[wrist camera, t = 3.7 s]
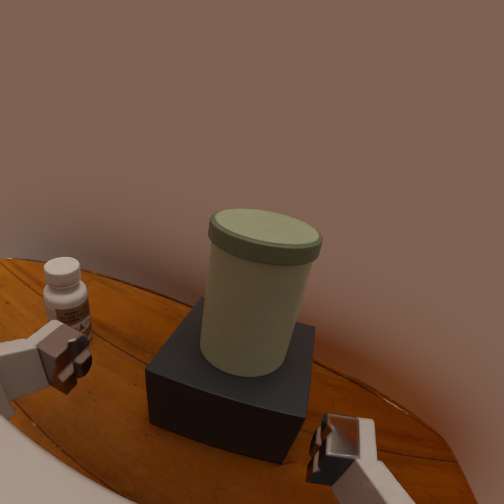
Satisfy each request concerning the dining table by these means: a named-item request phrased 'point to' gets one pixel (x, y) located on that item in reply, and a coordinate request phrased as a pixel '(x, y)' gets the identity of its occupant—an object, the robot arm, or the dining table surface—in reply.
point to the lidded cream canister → (254, 288)
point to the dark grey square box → (229, 394)
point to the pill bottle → (67, 295)
